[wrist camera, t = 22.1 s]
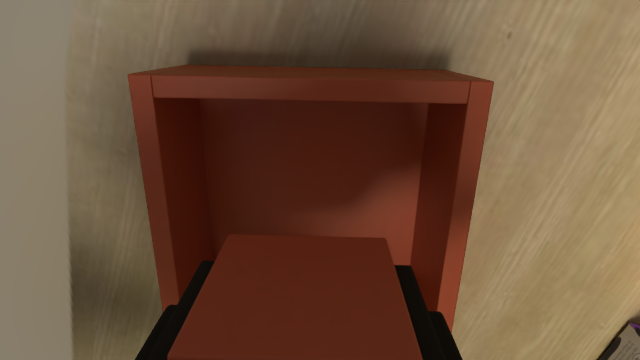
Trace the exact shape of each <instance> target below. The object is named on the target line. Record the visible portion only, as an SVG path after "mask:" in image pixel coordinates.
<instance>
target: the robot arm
mask: <svg viewBox="0 0 640 360" xmlns="http://www.w3.org/2000/svg"><path fill="white" fill-rule="evenodd" d="M214 262H215V261H208V260H203V261H202V262H201V263H200V265H199V267H198V269H197V270H196V272H195V274H194V276H193V277H192V279H191V281H190V283H189V285H188V286H187V288H186V290H185V292H184V293H183V295H182V297H181V299H180V300H179V302H178V304H177V305H169V306H167V308H166V309H165V310H164V312H163V314H162V315H161V317H160V319H159V320H158V322H157V324H156V325H155V327H154V329H153V330H152V332H151V334H150V335H149V337H148V339H147V340H146V342H145V344H144V345H143V347H142V349H141V350H140V352H139V354H138V355H137V357H136V359H135V360H168V359H167V356H168V353H169V351H170V350H171V348H172V346H173V344H174V342H175V340H176V338H177V336H178V334H179V332H180V330H181V328H182V326H183V324H184V322H185V320H186V318H187V316H188V314H189V312H190V310H191V308H192V306H193V304H194V302H195V300H196V298H197V296H198V294H199V292H200V290H201V288H202V286H203V284H204V282H205V280H206V278H207V276H208V274H209V272H210V270H211V268H212V266H213V264H214ZM394 266H395V269H396V273H397V276H398V279H399V283H400V286H401V289H402V292H403V296H404V299H405V302H406V306H407V309H408V312H409V315H410V319H411V322H412V325H413V329H414V332H415V335H416V338H417V342H418V345H419V348H420V352H421V355H422V358H423V360H462V357H461V355H460V353H459V350H458V348H457V346H456V343H455V341H454V339H453V336H452V334H451V332H450V329H449V327H448V325H447V322H446V320H445V318H444V316H443V314H442V313H441V312H440V311H428V309H427V307H426V304H425V301H424V299H423V296H422V293H421V291H420V288H419V285H418V283H417V280H416V277H415V275H414V272H413V269H412V267H411V266H410V265H394Z"/></svg>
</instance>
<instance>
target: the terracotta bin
mask: <svg viewBox="0 0 640 360" xmlns="http://www.w3.org/2000/svg"><path fill="white" fill-rule="evenodd" d="M128 81H129V87H130V94H131V101H132V107H133V114H134V121H135V128H136V134H137V141H138V148H139V154H140V161H141V168H142V174H143V181H144V188H145V194H146V201H147V208H148V215H149V221H150V228H151V235H152V241H153V248H154V255H155V261H156V268H157V275H158V282H159V288H160V295H161V302H162V308H163V312H164V310H165V309H166V308H167V306H169V305H177V304H178V302H179V300H180V299H181V297H182V295H183V293H184V292H185V290H186V288H187V286H188V285H189V283H190V281H191V279H192V277H193V276H194V274H195V272H196V270H197V269H198V267H199V265H200V263H201V262H202V261H203V260H208V261H215V260H216V258H217V256H218V254H219V252H220V251H221V249H222V247H223V245H224V243H225V241H226V239H227V237H228V235H230V234H243V235H286V236H329V237H372V238H386V240H387V243H388V246H389V250H390V253H391V256H392V259H393V263H394V265H410V266H411V267H412V269H413V272H414V275H415V277H416V280H417V283H418V285H419V288H420V291H421V293H422V296H423V299H424V301H425V304H426V307H427V309H428V311H440V312H441V313H442V314H443V316H444V318H445V320H446V322H447V325H448V327H449V329H450V332H451V333H452V327H453V321H454V315H455V309H456V303H457V297H458V291H459V285H460V280H461V274H462V268H463V262H464V256H465V250H466V244H467V238H468V232H469V226H470V220H471V215H472V209H473V203H474V197H475V191H476V185H477V179H478V173H479V167H480V161H481V155H482V150H483V144H484V138H485V132H486V126H487V120H488V114H489V108H490V102H491V96H492V90H493V85H494V82H493V81H490V80H486V79H481V78H477V77H473V76H468V75H464V74H460V73H455V72H451V71H447V70H428V69H377V68H325V67H274V66H223V65H182V66H175V67H169V68H163V69H157V70H150V71H144V72H138V73H132V74H128Z"/></svg>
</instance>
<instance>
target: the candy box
mask: <svg viewBox="0 0 640 360" xmlns="http://www.w3.org/2000/svg"><path fill="white" fill-rule="evenodd" d="M600 360H640V325H637V324H634V323H629V324H628V326H627V327H626V328H625V329H624V330H623V331H622V333H621V334H620V335H619V336H618V337H617V338H616V340H615V341H614V342H613V343H612V345H611V346H610V347H609V348H608V350H607V351H606V352H605V353H604V355H603V356H602V357H601V358H600Z"/></svg>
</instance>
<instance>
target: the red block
mask: <svg viewBox="0 0 640 360" xmlns="http://www.w3.org/2000/svg"><path fill="white" fill-rule="evenodd" d="M167 359H168V360H423V358H422V355H421V352H420V348H419V345H418V342H417V338H416V335H415V332H414V329H413V325H412V322H411V319H410V315H409V312H408V309H407V306H406V302H405V299H404V296H403V292H402V289H401V286H400V283H399V279H398V276H397V273H396V269H395V266H394V263H393V259H392V256H391V253H390V250H389V246H388V243H387V240H386V238H372V237H329V236H286V235H243V234H230V235H228V237H227V239H226V241H225V243H224V245H223V247H222V249H221V251H220V252H219V254H218V256H217V258H216V260H215V262H214V264H213V266H212V268H211V270H210V272H209V274H208V276H207V278H206V280H205V282H204V284H203V286H202V288H201V290H200V292H199V294H198V296H197V298H196V300H195V302H194V304H193V306H192V308H191V310H190V312H189V314H188V316H187V318H186V320H185V322H184V324H183V326H182V328H181V330H180V332H179V334H178V336H177V338H176V340H175V342H174V344H173V346H172V348H171V350H170V351H169V353H168V356H167Z"/></svg>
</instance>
